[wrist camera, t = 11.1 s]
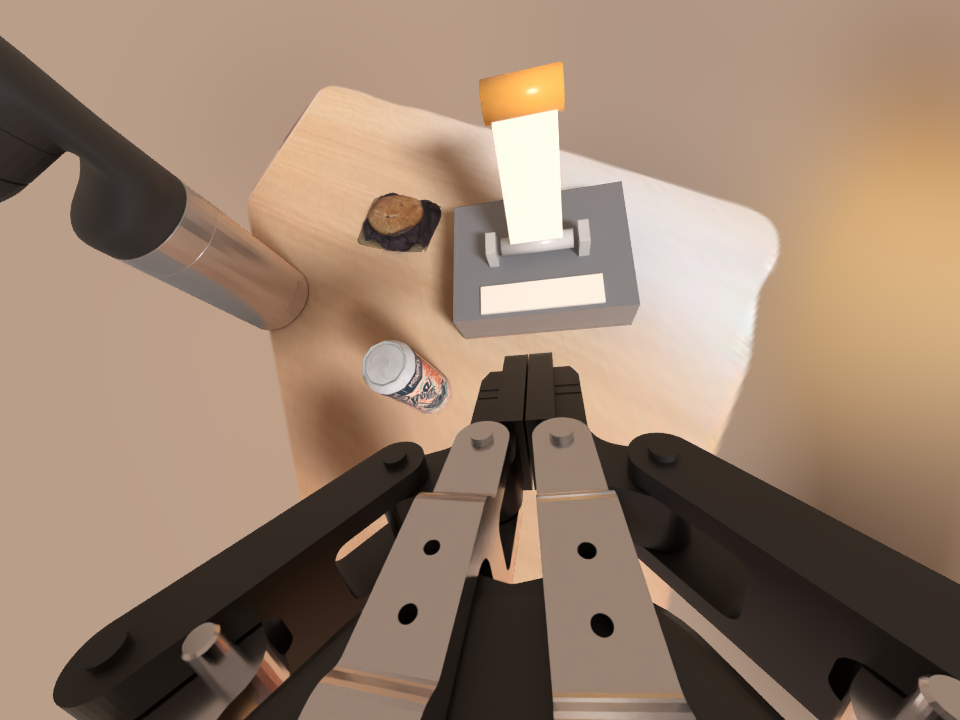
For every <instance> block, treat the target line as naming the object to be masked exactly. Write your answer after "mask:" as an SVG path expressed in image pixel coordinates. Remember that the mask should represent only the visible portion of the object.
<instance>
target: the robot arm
mask: <svg viewBox="0 0 960 720" xmlns="http://www.w3.org/2000/svg"><path fill="white" fill-rule="evenodd" d="M66 151H68V152H71V153H74V154H76V155H77V156H79V157H80V177H79V181H78V185H77V188H76V191H75V194H74V197H73V200H72V204H71V212H70V217H71V224H72V227H73V230H74V231H75V233H76V235H77V236H78V237H79V238H80V239H81V240H82V241H83V242H85V243H86V244H87V245H89V246H91V247H93V248H95V249H97V250H99V251H101V252H103V253H105V254H107V255H109V256H111V257H113V258H115V259H117V260H120V261H122V262H124V263H126V264H128V265H130V266H132V267H134V268H136V269H138V270H140V271H143V272H144V273H146V274H148V275H151V276H153V277H155V278H157V279H159V280H161V281H163V282H165V283H167V284H169V285H172V286H174V287H176V288H178V289H180V290H182V291H184V292H186V293H188V294H190V295H192V296H194V297H196V298H198V299H201V300H203V301H205V302H207V303H209V304H211V305H213V306H215V307H217V308H219V309H221V310H224V311H225V312H227V313H229V314H232V315H234V316H235V317H237V318H240V319H242V320H244V321H246V322H248V323H250V324H252V325H255V326H256V327H258V328H261V329H264V330H276V329H280V328H282V327H284V326H286V325H288V324H289V323H291V322H292V321H293V320H294V319H295V318H296V317H297V316H298V315H299V314H300V312H301V311H302V310H303V308H304V306H305V303H306V300H307V297H308V284H307V281H306V279H305V277H304V276H303V274H302V273H300V272H299V271H298V270H297V269H295V268H294V267H293V266H291V265H290V264H289V263H288V262H286V261H285V260H284V259H282V258H281V257H280V256H279V255H278V254H276V253H275V252H274V251H272V250H271V249H270V248H268V247H267V246H266V245H264V244H263V243H262V242H261V241H259V240H258V239H257V238H255V237H254V236H253V235H251V234H250V233H249V232H248V231H246V230H245V229H244V228H242V227H241V226H240V225H238V224H237V223H236V222H235V221H233V220H232V219H231V218H229V217H228V216H227V215H225V214H224V213H223V212H221V211H220V210H219V209H218V208H216V207H215V206H214V205H212V204H211V203H210V202H209V201H207V200H206V199H204V198H203V197H202V196H200V195H199V194H198V193H196V192H195V191H194V190H193V189H191V188H190V187H189V186H187V185H186V184H185V183H184V182H182V181H181V180H180V179H178V178H177V177H176V176H174V175H173V174H171V173H170V172H169V171H168V170H166V169H165V168H164V167H162V166H161V165H160V164H158V163H157V162H156V161H154V160H153V159H151V157H149V156H148V155H147V154H145V153H144V152H143V151H141V150H140V149H139V148H137V147H136V146H135V145H134V144H132V143H131V142H130V141H128V140H127V139H126V138H125V137H123V136H122V135H121V134H119V133H118V132H117V131H116V130H114V129H113V128H112V127H110V126H109V125H108V124H107V123H105V122H104V121H103V120H102V119H100V118H99V117H98V116H97V115H95V114H94V113H93V112H92V111H91V110H89V109H88V108H87V107H85V105H83V104H82V103H81V102H80V101H78V100H77V99H76V98H75V97H74V96H72V95H71V94H70V93H69V92H68V91H66V90H65V89H64V88H63V87H62V86H60V85H59V84H58V83H57V82H56V81H55V80H53V79H52V78H51V77H50V76H49V75H47V74H46V73H45V72H44V71H42V70H41V69H40V68H39V67H38V66H37V65H35V64H34V63H33V62H32V61H31V60H30V59H28V58H27V57H26V56H25V55H23V54H22V53H21V52H20V51H19V50H17V49H16V48H15V47H14V46H12V45H11V44H10V43H9V42H7V41H6V40H5V39H4V38H2V37H1V36H0V202H2V201H5V200H7V199H9V198H11V197H13V196H14V195H16V194H17V193H19V192H20V191H22V190H23V189H24V188H25V187H26V186H27V185H28V184H29V183H31V182H32V181H33V180H34V179H36V177H38V176H39V175H40V174H41V173H42V172H43V171H45V170H46V169H47V168H48V167H49V166H50V165H51V164H52V163H53V162H55V161H56V160H57V159H58V158H59V157H60V156H61V155H62V154H64V153H65V152H66ZM479 391H480V392H479V394H478V398H477V399H478V400H477V402H476V405H475V409H474V413H473V417H472V420H471V424H470V425H468V426H467V427H465V428H463V429H462V430H461V431H460V432H459V433H458V434H457V436H456V438H455V440H454V443H453V445H452V447H450V448H448V449H445V450H442V451H438V452H434V453H430V454H427V455H424V452H423V449H422V448H421V446H419V445H418V444H416V443H413V442H399V443H395V444H392V445H389V446H387V447H385V448H383V449H381V450H380V451H378V452H377V453H375V454H374V455H372V456H370V457H369V458H367V459H366V460H364V461H363V462H361V463H360V464H358V465H356V466H355V467H353V468H352V469H350V470H349V471H347V472H346V473H344V474H342V475H341V476H339V477H338V478H336V479H335V480H333V481H332V482H330V483H328V484H327V485H325V486H324V487H322V488H321V489H319V490H317V491H316V492H314V493H313V494H311V495H310V496H308V497H307V498H305V499H303V500H302V501H300V502H299V503H297V504H296V505H294V506H293V507H291V508H290V509H288V510H286V511H285V512H283V513H282V514H280V515H278V516H277V517H275V518H274V519H273V520H271V521H269V522H268V523H266V524H265V525H263V526H261V527H260V528H258V529H257V530H255V531H254V532H252V533H251V534H249V535H247V536H246V537H244V538H243V539H241V540H239V541H238V542H237V543H235V544H233V545H232V546H230V547H229V548H227V549H225V550H224V551H222V552H221V553H219V554H218V555H216V556H215V557H213V558H211V559H210V560H209V561H207V562H205V563H204V564H202V565H201V566H199V567H197V568H196V569H194V570H193V571H191V572H190V573H188V574H186V575H185V576H183V577H182V578H180V579H179V580H177V581H176V582H174V583H172V584H171V585H170V586H168V587H166V588H165V589H163V590H161V591H160V592H158V593H157V594H155V595H154V596H152V597H151V598H149V599H147V600H146V601H145V602H143V603H141V604H140V605H138V606H137V607H135V608H133V609H132V610H130V611H129V612H127V613H126V614H124V615H123V616H121V617H119V618H118V619H116V620H115V621H113V622H112V623H110V624H109V625H107V626H106V627H104V628H103V629H102V630H100V631H99V632H98V633H96V634H95V635H94V636H93V637H92V638H91V639H89V640H88V641H87V642H86V643H85V644H84V645H83V646H82V647H81V648H80V649H79V650H78V651H77V652H76V654H75V655H74V656H73V657H72V658H71V659H70V661H69V662H68V663H67V665H66V666H65V667H64V669H63V670H62V672H61V674H60V676H59V677H58V679H57V681H56V684H55V687H54V691H53V699H54V702H55V703H56V705H58V706H59V707H60V708H62V709H63V710H65V711H66V712H67V713H69V714H70V715H72V716H73V717H75V718H76V719H77V720H785V719H784V718H783V717H782V716H781V715H780V714H779V713H778V712H777V711H776V710H775V709H774V708H773V707H772V706H771V705H770V704H769V703H768V702H767V701H766V700H765V699H763V697H762V696H761V695H760V694H758V692H757V691H756V690H755V689H754V688H753V687H752V686H751V685H750V684H748V682H746V680H745V679H744V678H743V677H742V676H741V675H740V674H739V673H738V672H737V671H736V670H735V669H734V668H732V666H731V665H729V663H728V662H726V661H725V660H724V659H723V658H722V657H721V656H720V655H719V654H718V653H717V652H716V651H715V650H714V649H713V648H712V647H711V646H710V645H709V644H708V643H707V642H706V641H705V640H704V639H703V638H702V637H701V636H700V635H699V634H698V633H697V632H695V631H694V630H693V629H692V628H691V627H689V626H688V625H687V624H686V623H685V622H683V621H682V620H681V619H679V618H678V617H676V616H674V615H673V614H672V613H670V612H669V611H667V610H665V609H664V608H662V607H660V606H658V605H656V604H654V603H653V602H652V599H651V596H650V593H649V590H648V587H647V584H646V581H645V578H644V575H643V572H642V569H641V566H640V563H639V560H638V558H639V559H640V560H641V561H642V562H643V563H644V564H646V565H647V566H648V567H649V568H650V569H651V570H652V571H653V572H655V573H656V574H657V575H658V576H659V577H660V578H661V579H662V580H663V581H665V582H666V583H667V584H668V585H669V586H670V587H671V588H672V589H674V590H675V591H676V592H677V593H678V594H679V595H680V596H681V597H683V598H684V599H685V600H686V601H687V602H688V603H689V604H690V605H691V606H693V607H694V608H695V609H696V610H697V611H698V612H699V613H700V614H701V615H703V616H704V617H705V618H706V619H707V620H708V621H709V622H711V623H712V624H713V625H714V626H715V627H716V628H717V629H718V630H719V631H720V632H722V633H723V634H724V635H725V636H726V637H727V638H728V639H729V640H731V641H732V642H733V643H734V644H735V645H736V646H737V647H738V648H739V649H740V650H742V651H743V652H744V653H745V654H746V655H747V656H748V657H749V658H751V659H752V660H753V661H754V662H755V663H756V664H757V665H758V666H759V667H761V668H762V669H763V670H764V671H765V672H766V673H767V674H769V675H770V676H771V677H772V678H773V679H774V680H775V681H776V682H777V683H779V684H780V685H781V686H782V687H783V688H784V689H785V690H786V691H787V692H789V693H790V694H791V695H792V696H793V697H794V698H795V699H796V700H798V701H799V702H800V703H801V704H802V705H803V706H804V707H805V708H806V709H808V710H809V711H810V712H811V713H812V714H813V715H814V716H815V717H816V718H818V719H819V720H960V584H958V583H956V582H954V581H952V580H950V579H948V578H947V577H945V576H943V575H941V574H939V573H937V572H935V571H933V570H931V569H929V568H927V567H926V566H924V565H922V564H920V563H918V562H916V561H914V560H912V559H910V558H908V557H907V556H904V555H903V554H901V553H899V552H897V551H895V550H893V549H891V548H889V547H888V546H886V545H884V544H882V543H880V542H878V541H876V540H874V539H872V538H871V537H869V536H867V535H865V534H862V533H861V532H859V531H857V530H855V529H853V528H851V527H850V526H848V525H846V524H844V523H842V522H840V521H838V520H836V519H834V518H832V517H831V516H829V515H827V514H825V513H823V512H821V511H819V510H817V509H815V508H813V507H812V506H810V505H808V504H806V503H804V502H802V501H800V500H798V499H796V498H795V497H793V496H791V495H789V494H787V493H785V492H783V491H781V490H779V489H777V488H775V487H774V486H772V485H770V484H768V483H766V482H764V481H762V480H760V479H758V478H756V477H754V476H753V475H751V474H749V473H747V472H745V471H743V470H741V469H739V468H737V467H735V466H734V465H732V464H730V463H728V462H726V461H724V460H722V459H720V458H718V457H716V456H715V455H713V454H711V453H709V452H707V451H705V450H703V449H701V448H699V447H698V446H696V445H694V444H692V443H690V442H688V441H686V440H684V439H682V438H680V437H677V436H674V435H671V434H665V433H648V434H643V435H640V436H638V437H636V438H635V439H633V440H632V441H631V443H630V444H629V446H622V445H617V444H613V443H609V442H606V441H604V440H602V439H600V438H598V437H596V436H595V435H594V434H593V433H592V432H591V431H590V429H589V428H588V425H587V421H586V415H585V409H584V404H583V398H582V393H581V386H580V381H579V375H578V373H577V372H576V371H575V370H574V369H573V368H572V367H570V366H565V367H553V358H552V352H550V353H538V354H529V358H528V354H527V355H515V356H505V360H504V365H503V371H499V372H490V373H489V374H488V375H487V376H486V377H485V378H484V379H483V380H482V383H481V386H480V390H479ZM533 480H534V487H535V490H537V495H536V500H537V512H538V524H539V537H540V549H541V561H542V573H543V578H540V579H536V580H532V581H527V582H523V583H518V584H513V577H514V570H515V563H516V556H517V549H518V542H519V535H520V528H521V521H522V509H521V505H522V498H523V490H532V485H533ZM383 514H385V515H386V518H387V520H388V524H387V525H385V526H384V527H383V528H381V529H380V530H379V531H378V532H376V533H375V534H374V535H372V536H371V537H370V538H369V539H367V540H366V541H365V542H363V543H362V544H361V545H360V546H358V547H357V548H356V549H354V550H353V551H352V552H351V553H349V554H348V555H347V556H345V557H344V558H343V559H341V560H339V561H335V560H336V556H337V553H338V552H339V550H340V549H341V547H342V546H343V545H344V544H345V543H347V542H348V541H349V540H350V539H352V538H353V537H354V536H356V535H357V534H358V533H360V532H361V531H362V530H364V529H365V528H366V527H368V526H369V525H370V524H372V523H373V522H374V521H376V520H377V519H378V518H380V517H381V516H382V515H383Z"/></svg>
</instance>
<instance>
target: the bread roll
mask: <svg viewBox="0 0 960 720" xmlns="http://www.w3.org/2000/svg"><path fill="white" fill-rule="evenodd" d="M440 217H441V210H440V206H438V205H437V204H436V203H432V202H431V201H429V200H421V201H419V200H417V199H415V198H411V197H407V196H403V195H402V196H401V195H398V194H396V193H389V194H386V195H384V196H380V197H379V198H376V199H374V201H373V203H372V205H371V208H370V210H369V213H368V215H367V218H366V220H365V222H364V223H363V228H362V230H361V233H360V235H359V238H358V243H359V244H362V245H365V246H370V247H375V248H379V249H385V250H391V251H401V252H422V250H423V249H425V251H426V250H427V248H428V246H429V243H430V240H431V238H432V236H433V233H434V230H435V229H436V227H437V225H438V223H439V221H440Z"/></svg>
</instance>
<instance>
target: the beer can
mask: <svg viewBox="0 0 960 720" xmlns="http://www.w3.org/2000/svg"><path fill="white" fill-rule="evenodd" d="M362 373H363V378H364V380H365V382H366V384H367V386H368V387H369V388H370V389H371V390H373V391H374V392H376V393H379V394H381V395H384V396H386V397H388V398H390V399H393V400H395V401H397V402H400V403H402V404H404V405H406V406H409V407H411V408H413V409H415V410H418V411H420V412H422V413H425V414H432V413H436V412H438V411H440V410H441V409H443V408H444V407H445V406H446V404H447V403H448V401H449V399H450V396H451V386H450V383H449V381H448V379H447V378H446V377H445V376H444V375H443V374H442V373H440V372H439V371H438V370H437V369H435V368H434V367H433V366H432V365H431V364H429V363H428V362H427V361H426V360H425V359H423V358H422V357H421V356H420V355H419V354H417V353H416V352H415V351H414V350H413V349H411V348H410V347H409V346H408V345H406V344H405V343H403V342H401V341H398V340H387V341H382V342H380V343H378V344H376V345H374V346H371V348H370V349H369V350H368V352H367V353H366V355H365V356H364V358H363V365H362Z"/></svg>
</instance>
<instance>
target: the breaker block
mask: <svg viewBox="0 0 960 720" xmlns="http://www.w3.org/2000/svg"><path fill="white" fill-rule="evenodd" d="M561 205H562V228H563V230H564V229H571V228H573V236H574V248H567V249H559V250H551V251H543V252H536V253H528V254H520V255H512V256H505V257H503V256H502V252H501V243H500V240H501V238H507V237H509V232H508V226H507V220H506V213H505V207H504V200H501V201H495V202H488V203H482V204H476V205H469V206H463V207H457V208H454V274H453V323H454V324H455V326H456V327H457V329H458V330H459V331H460V333H461V334H462V335H463V337H464V338H465V339H470V338H482V337H493V336H505V335H516V334H528V333H540V332H551V331H563V330H574V329H586V328H597V327H609V326H620V325H631V324H632V321H633V319H634V317H635V315H636V312H637V310H638V308H639V305H640V301H639V295H638V288H637V281H636V275H635V268H634V261H633V255H632V248H631V241H630V235H629V228H628V221H627V215H626V208H625V201H624V195H623V188H622V181H620V182H614V183H608V184H601V185H595V186H589V187H583V188H576V189H570V190H564V191H561Z"/></svg>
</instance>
